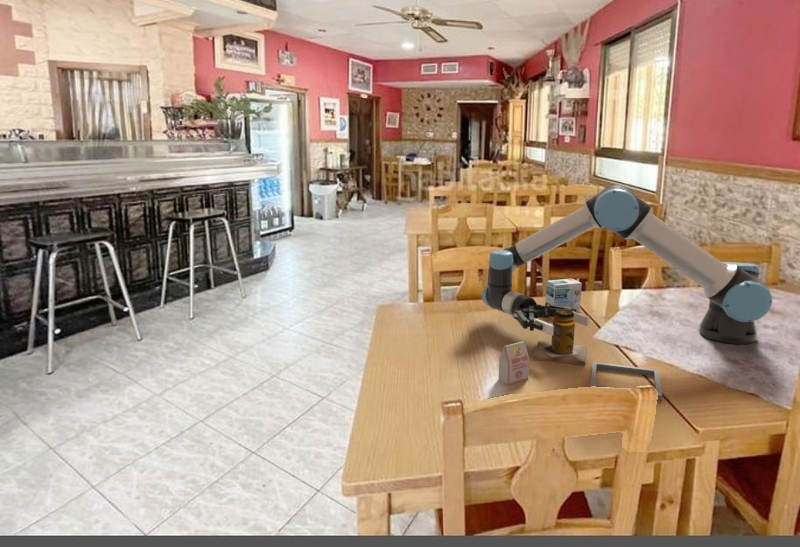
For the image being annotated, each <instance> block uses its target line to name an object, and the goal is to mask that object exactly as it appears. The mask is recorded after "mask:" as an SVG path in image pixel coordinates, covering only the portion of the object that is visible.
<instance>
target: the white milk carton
mask: <svg viewBox="0 0 800 547" xmlns="http://www.w3.org/2000/svg"><path fill="white" fill-rule="evenodd" d="M529 367H530V357H529V353H528V349H527V344H526V341H525V340H524V341H518V342H516V343H511V344H507V345H503V348H502V351H501V354H500V356H499V358H498V381H500V382H502V383H503V384H505V385H507V386H509V385H514V384H516V383H519V382H520V383H521V382H523V381H524V382H525V381H527V380H529V372H530V371H529Z"/></svg>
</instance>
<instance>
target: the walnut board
mask: <svg viewBox="0 0 800 547" xmlns="http://www.w3.org/2000/svg"><path fill="white" fill-rule="evenodd" d="M551 345H552V341H544V340H538V342H537V344H536V346H535V350H534V352H533V355H532V359H533V360H540V361H541V360H542V361H547V362H555V363H557V362H558V363H565V364H571V365H572V364H573V365H578V366H579V365H580V366H586V360H587V353H588V352H587V351H588V346H587V345H582V344H581V345H580V344H573V350H574V351H575V352H577V353H578V354H577V355H569V356H558V357H551V356H549V355H548V354H546V353H545V352H544V351H543V350H542V349H541V348H540V347H547V346H551Z"/></svg>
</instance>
